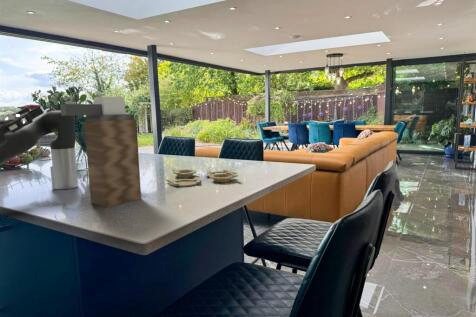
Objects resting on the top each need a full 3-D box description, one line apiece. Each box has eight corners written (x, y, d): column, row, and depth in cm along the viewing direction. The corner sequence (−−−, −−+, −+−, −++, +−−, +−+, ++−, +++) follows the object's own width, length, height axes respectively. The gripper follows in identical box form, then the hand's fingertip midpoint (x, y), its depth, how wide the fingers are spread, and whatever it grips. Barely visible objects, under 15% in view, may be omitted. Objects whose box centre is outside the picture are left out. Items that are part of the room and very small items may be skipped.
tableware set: (166, 189, 140) (165, 179, 139) (164, 176, 168) (164, 168, 168) (246, 183, 148) (246, 174, 147) (232, 172, 176) (232, 165, 176)
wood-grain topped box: (106, 207, 112) (99, 114, 108) (90, 202, 119) (83, 114, 114) (141, 198, 123) (136, 113, 119) (125, 194, 129) (120, 114, 125)
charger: (68, 115, 102) (66, 95, 102) (59, 115, 106) (57, 96, 105) (125, 114, 118) (124, 97, 117) (115, 114, 122) (114, 98, 121)
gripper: (-23, 128, 81) (37, 97, 91) (-39, 128, 90) (17, 99, 100) (-2, 153, 85) (53, 120, 95) (-19, 151, 93) (33, 121, 103)
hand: (35, 109), depth 97 cm, fingers open, 8 cm apart
